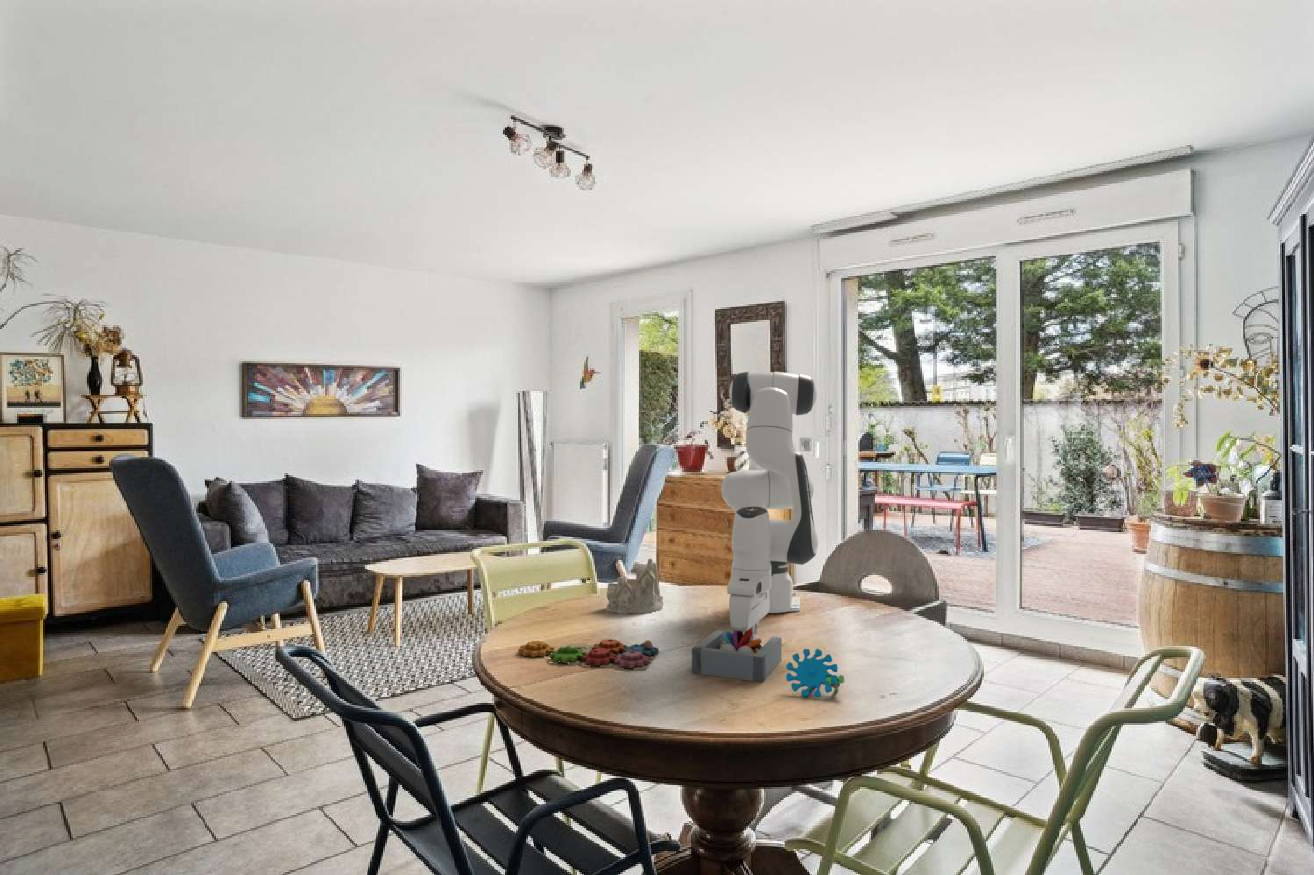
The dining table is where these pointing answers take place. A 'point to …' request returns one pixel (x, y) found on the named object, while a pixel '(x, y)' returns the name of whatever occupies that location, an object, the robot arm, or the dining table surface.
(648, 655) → the gear puzzle
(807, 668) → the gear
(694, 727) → the dining table surface
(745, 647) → the multicoloured rounded-lobe toy
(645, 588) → the ceramic cottage
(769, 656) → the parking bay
